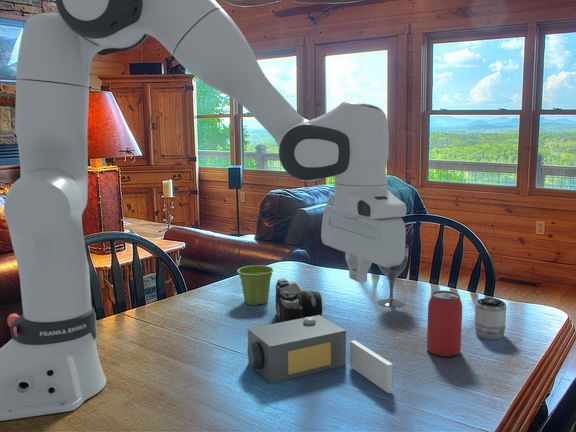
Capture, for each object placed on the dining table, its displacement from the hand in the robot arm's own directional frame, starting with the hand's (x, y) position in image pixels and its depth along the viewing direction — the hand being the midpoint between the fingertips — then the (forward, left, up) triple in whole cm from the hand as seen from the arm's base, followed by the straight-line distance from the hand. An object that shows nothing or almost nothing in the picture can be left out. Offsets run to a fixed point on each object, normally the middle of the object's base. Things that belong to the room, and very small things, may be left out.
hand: (357, 280), depth 97 cm
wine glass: (+34, +34, -20) cm, 52 cm away
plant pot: (+4, +52, -20) cm, 56 cm away
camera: (+7, +33, -20) cm, 39 cm away
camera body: (-5, +13, -19) cm, 24 cm away
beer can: (+24, +4, -20) cm, 31 cm away
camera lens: (+39, +6, -20) cm, 44 cm away
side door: (+4, +1, -19) cm, 19 cm away
